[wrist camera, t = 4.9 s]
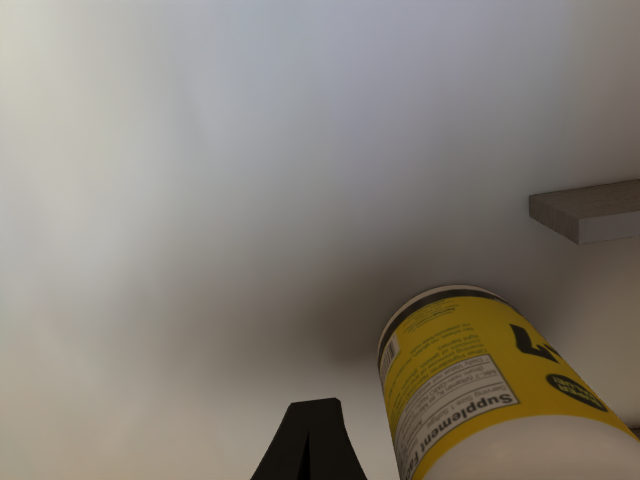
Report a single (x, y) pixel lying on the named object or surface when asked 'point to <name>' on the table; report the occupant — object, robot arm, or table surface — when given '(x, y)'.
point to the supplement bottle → (491, 397)
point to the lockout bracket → (591, 214)
